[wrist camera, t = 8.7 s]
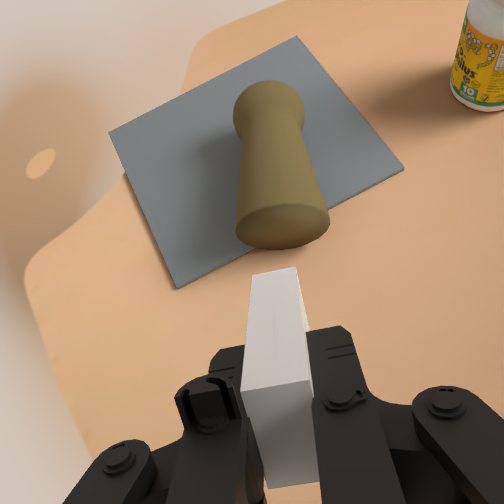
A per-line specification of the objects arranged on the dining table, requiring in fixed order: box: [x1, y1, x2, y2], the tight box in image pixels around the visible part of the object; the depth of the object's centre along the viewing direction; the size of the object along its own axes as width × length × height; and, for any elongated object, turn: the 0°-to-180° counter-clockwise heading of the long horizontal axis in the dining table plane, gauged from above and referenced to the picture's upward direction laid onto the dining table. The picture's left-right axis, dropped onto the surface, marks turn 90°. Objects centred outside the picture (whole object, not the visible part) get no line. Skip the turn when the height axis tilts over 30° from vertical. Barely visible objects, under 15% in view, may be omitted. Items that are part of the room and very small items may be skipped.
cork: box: [233, 80, 330, 250], centre depth 33 cm, size 6×6×11 cm
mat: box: [109, 36, 404, 289], centre depth 37 cm, size 18×16×1 cm
